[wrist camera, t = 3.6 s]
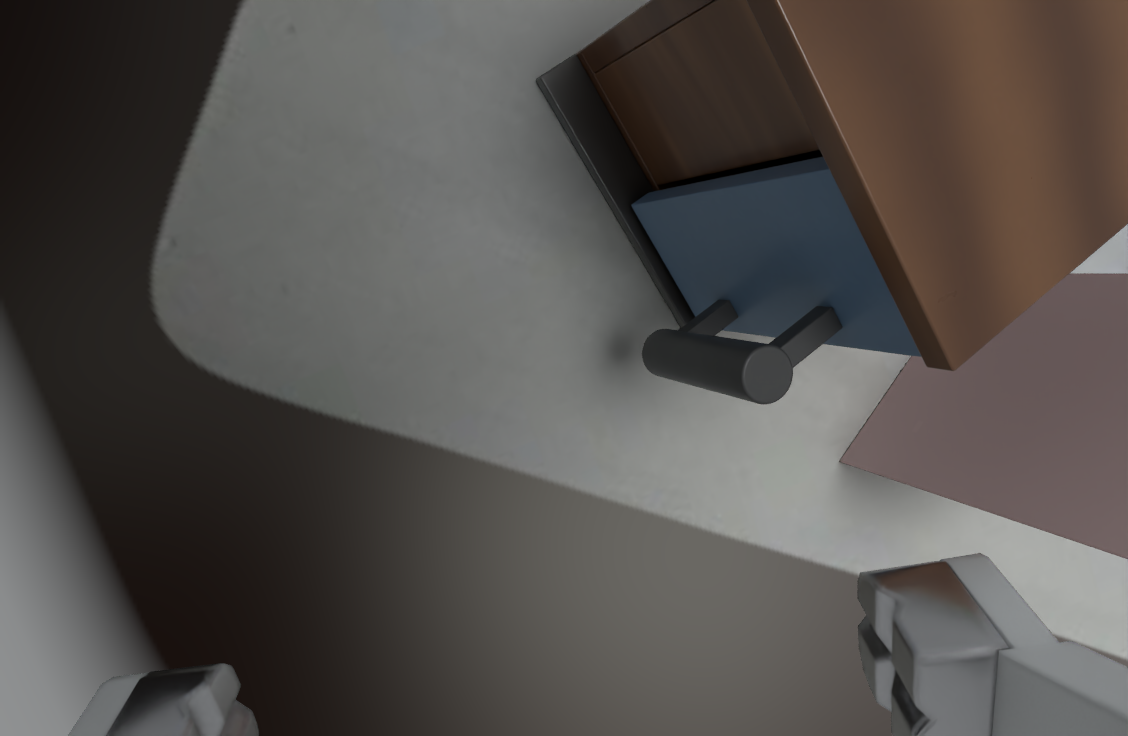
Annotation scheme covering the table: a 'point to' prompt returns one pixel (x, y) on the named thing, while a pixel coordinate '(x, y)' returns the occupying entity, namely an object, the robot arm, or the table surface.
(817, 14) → the cabinet
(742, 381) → the cabinet door
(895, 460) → the greeting card
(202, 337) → the table surface
